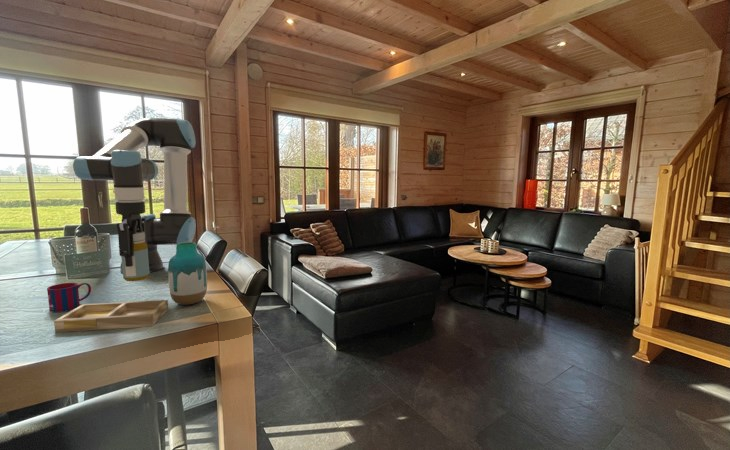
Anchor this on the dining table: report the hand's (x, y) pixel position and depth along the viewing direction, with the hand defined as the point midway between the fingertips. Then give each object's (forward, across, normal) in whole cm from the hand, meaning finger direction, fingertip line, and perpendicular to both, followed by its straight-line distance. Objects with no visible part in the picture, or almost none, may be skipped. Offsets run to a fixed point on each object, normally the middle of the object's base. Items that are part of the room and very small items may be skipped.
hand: (136, 272), depth 107 cm
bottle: (+2, 0, 0) cm, 2 cm away
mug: (+9, +5, -16) cm, 19 cm away
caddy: (+8, +18, +2) cm, 20 cm away
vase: (+9, +7, +17) cm, 21 cm away
